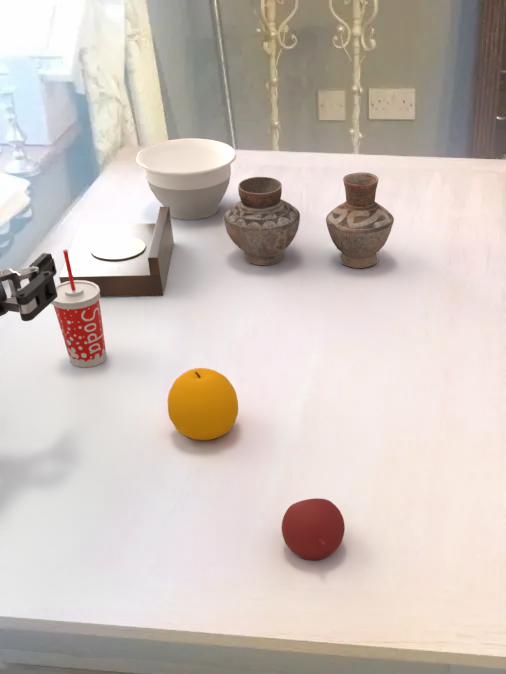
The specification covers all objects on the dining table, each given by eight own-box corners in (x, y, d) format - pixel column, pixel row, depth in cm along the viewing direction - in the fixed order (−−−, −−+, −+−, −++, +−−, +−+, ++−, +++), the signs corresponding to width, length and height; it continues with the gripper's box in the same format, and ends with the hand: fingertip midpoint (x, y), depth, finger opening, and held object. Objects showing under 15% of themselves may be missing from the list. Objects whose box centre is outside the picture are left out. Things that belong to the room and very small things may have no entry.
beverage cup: (72, 375, 112) (47, 266, 102) (57, 353, 116) (31, 246, 106) (119, 362, 114) (99, 254, 104) (103, 341, 118) (81, 235, 108)
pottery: (391, 278, 131) (395, 194, 123) (221, 273, 132) (213, 189, 124) (392, 245, 139) (396, 164, 131) (232, 241, 140) (226, 160, 132)
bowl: (198, 183, 157) (193, 131, 151) (260, 208, 149) (256, 154, 143) (124, 209, 149) (115, 155, 143) (185, 237, 141) (178, 181, 135)
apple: (224, 456, 100) (218, 397, 94) (160, 443, 101) (150, 385, 96) (250, 417, 105) (246, 360, 100) (188, 406, 107) (180, 349, 102)
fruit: (286, 575, 89) (289, 549, 81) (277, 521, 90) (280, 491, 83) (346, 567, 90) (355, 541, 82) (337, 514, 91) (345, 483, 83)
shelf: (63, 297, 127) (55, 259, 123) (83, 244, 139) (76, 207, 136) (163, 295, 127) (157, 257, 123) (173, 242, 140) (169, 206, 136)
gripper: (-10, 300, 80) (67, 228, 91) (-153, 285, 82) (-61, 216, 93) (12, 375, 85) (82, 298, 96) (-123, 359, 87) (-39, 285, 98)
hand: (12, 258), depth 94 cm, fingers open, 8 cm apart
